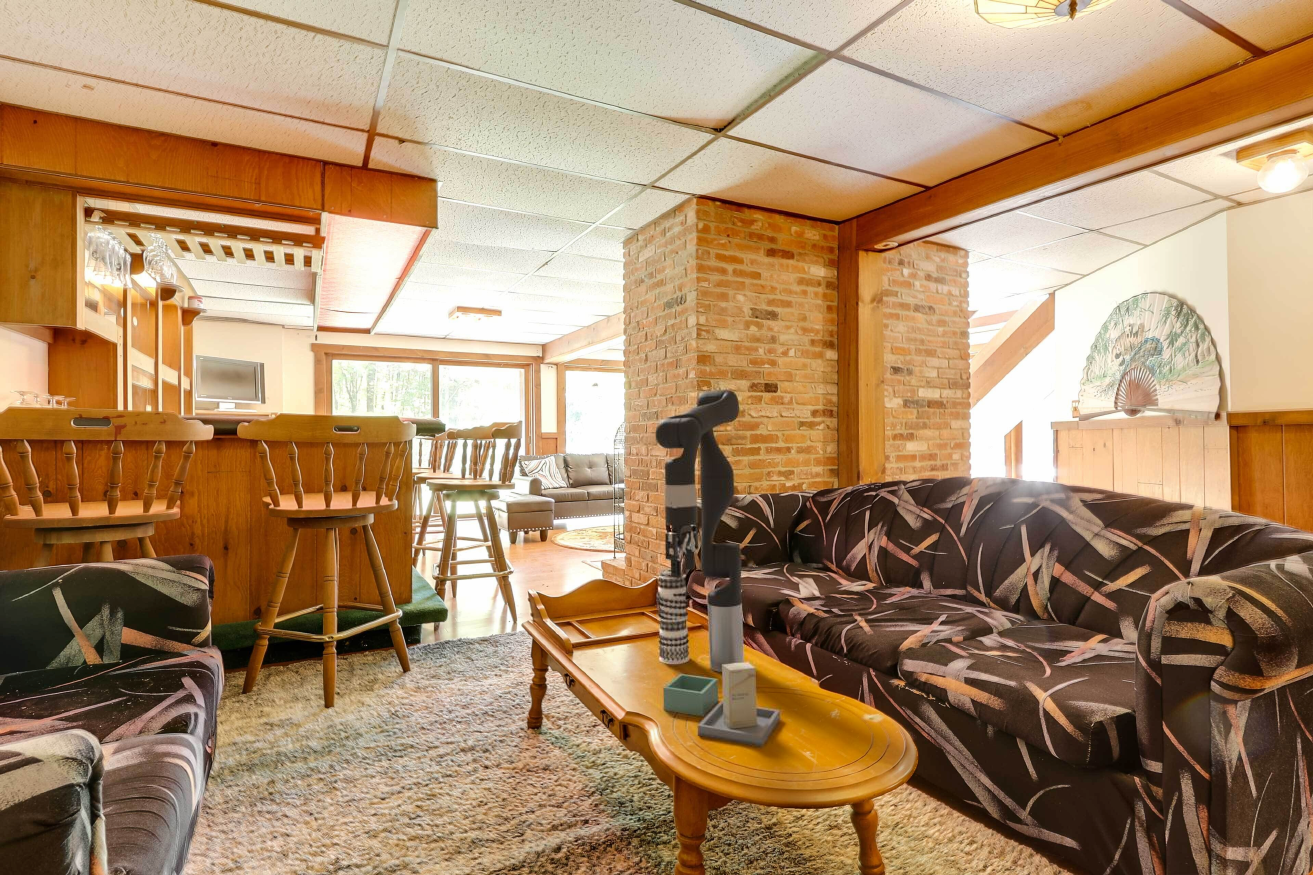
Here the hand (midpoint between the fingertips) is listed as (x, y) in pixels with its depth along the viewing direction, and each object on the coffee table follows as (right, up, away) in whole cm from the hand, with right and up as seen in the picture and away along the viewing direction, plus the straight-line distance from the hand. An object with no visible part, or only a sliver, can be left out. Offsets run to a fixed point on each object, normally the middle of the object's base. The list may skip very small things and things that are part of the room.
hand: (683, 573), depth 146 cm
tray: (+11, -30, -14) cm, 35 cm away
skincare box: (+12, -29, -13) cm, 34 cm away
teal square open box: (+2, -30, -1) cm, 30 cm away
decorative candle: (-1, -31, +31) cm, 44 cm away
